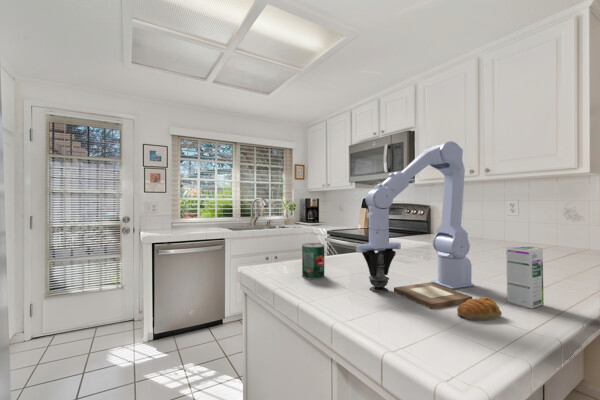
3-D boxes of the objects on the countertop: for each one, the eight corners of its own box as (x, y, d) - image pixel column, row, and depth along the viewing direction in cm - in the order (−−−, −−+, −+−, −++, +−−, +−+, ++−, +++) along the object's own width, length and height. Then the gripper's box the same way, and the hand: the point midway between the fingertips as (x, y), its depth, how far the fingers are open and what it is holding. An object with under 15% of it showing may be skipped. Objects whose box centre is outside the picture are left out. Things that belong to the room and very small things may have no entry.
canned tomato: (325, 279, 97) (325, 246, 97) (302, 279, 97) (301, 246, 97) (323, 273, 105) (323, 243, 105) (302, 273, 105) (302, 243, 105)
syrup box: (532, 309, 70) (532, 250, 70) (505, 301, 75) (505, 246, 75) (544, 305, 73) (544, 248, 73) (517, 298, 78) (517, 244, 78)
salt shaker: (390, 293, 82) (390, 251, 82) (369, 292, 83) (368, 251, 83) (388, 287, 88) (388, 248, 88) (368, 286, 89) (368, 247, 89)
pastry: (475, 325, 62) (474, 307, 62) (448, 313, 68) (448, 297, 68) (504, 318, 66) (504, 301, 66) (476, 308, 72) (476, 292, 72)
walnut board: (430, 286, 89) (430, 281, 89) (472, 301, 76) (472, 296, 76) (393, 291, 84) (393, 287, 84) (431, 308, 71) (431, 303, 71)
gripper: (390, 226, 92) (390, 269, 92) (350, 228, 87) (350, 274, 87) (405, 229, 85) (405, 275, 85) (363, 231, 80) (363, 280, 80)
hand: (378, 275), depth 85 cm, fingers closed on salt shaker, 3 cm apart
